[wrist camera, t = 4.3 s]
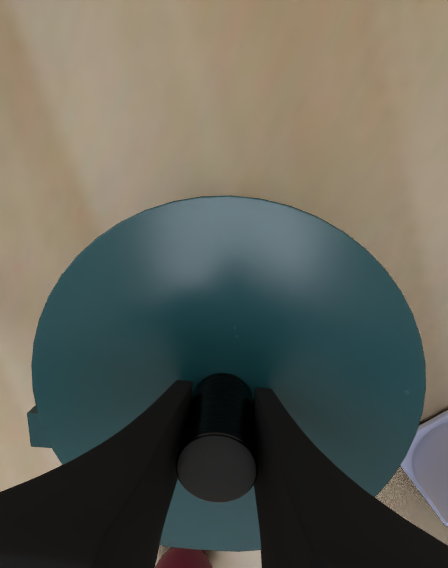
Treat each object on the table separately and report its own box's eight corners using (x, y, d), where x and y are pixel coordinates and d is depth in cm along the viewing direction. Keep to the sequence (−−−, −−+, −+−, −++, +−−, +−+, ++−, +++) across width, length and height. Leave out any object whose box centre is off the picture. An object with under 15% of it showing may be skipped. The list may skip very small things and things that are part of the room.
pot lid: (378, 538, 14) (442, 682, 10) (63, 514, 14) (-10, 638, 10) (444, 205, 10) (586, 194, 6) (30, 191, 11) (-101, 171, 7)
